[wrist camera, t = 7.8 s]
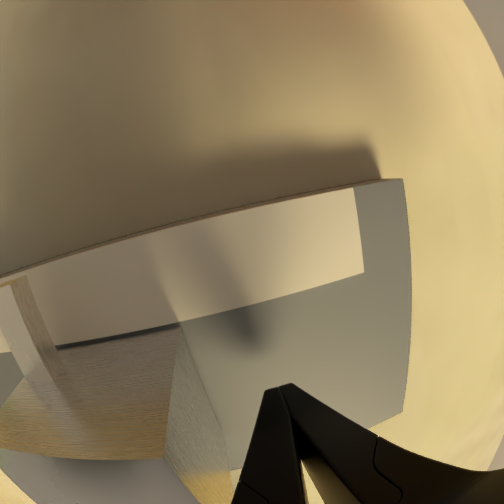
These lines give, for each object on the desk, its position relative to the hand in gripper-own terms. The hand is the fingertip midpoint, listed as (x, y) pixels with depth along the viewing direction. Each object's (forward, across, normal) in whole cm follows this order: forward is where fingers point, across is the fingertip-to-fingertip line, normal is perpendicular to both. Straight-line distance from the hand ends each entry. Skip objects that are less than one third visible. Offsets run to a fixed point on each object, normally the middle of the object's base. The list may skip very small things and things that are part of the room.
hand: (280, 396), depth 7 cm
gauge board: (+2, +10, 0) cm, 10 cm away
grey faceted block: (+1, +4, -1) cm, 5 cm away
